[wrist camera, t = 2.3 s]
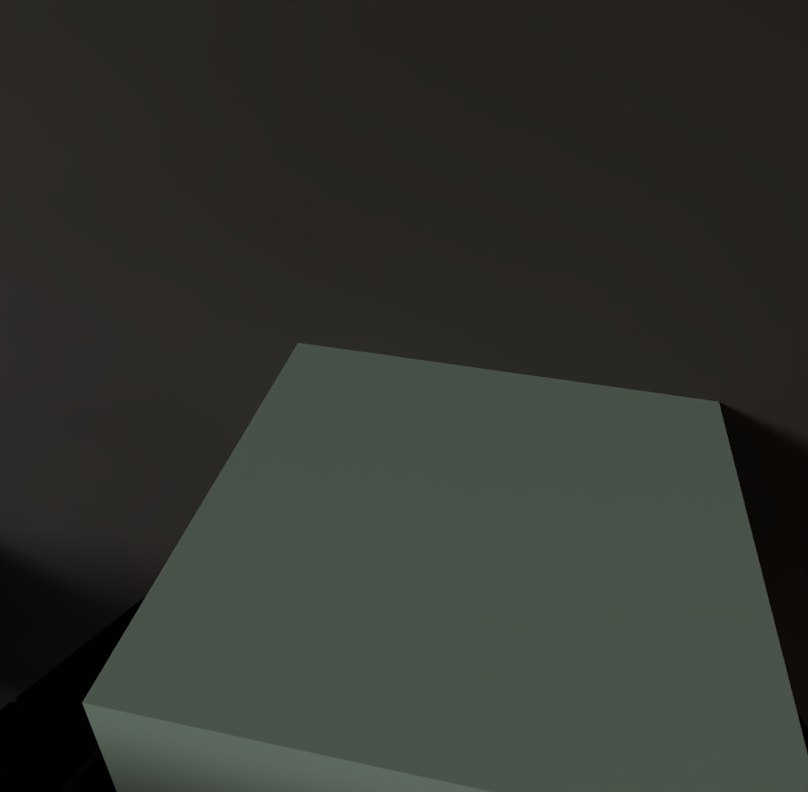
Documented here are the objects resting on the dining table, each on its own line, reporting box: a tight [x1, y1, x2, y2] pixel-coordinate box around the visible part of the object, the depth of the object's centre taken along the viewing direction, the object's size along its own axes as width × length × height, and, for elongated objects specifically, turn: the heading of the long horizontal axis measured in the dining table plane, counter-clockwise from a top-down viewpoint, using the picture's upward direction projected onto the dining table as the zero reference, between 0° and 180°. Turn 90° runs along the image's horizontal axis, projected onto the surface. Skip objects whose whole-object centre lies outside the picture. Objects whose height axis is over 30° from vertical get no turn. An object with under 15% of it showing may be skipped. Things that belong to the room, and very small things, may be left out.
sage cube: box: [82, 343, 808, 792], centre depth 8 cm, size 5×5×5 cm
